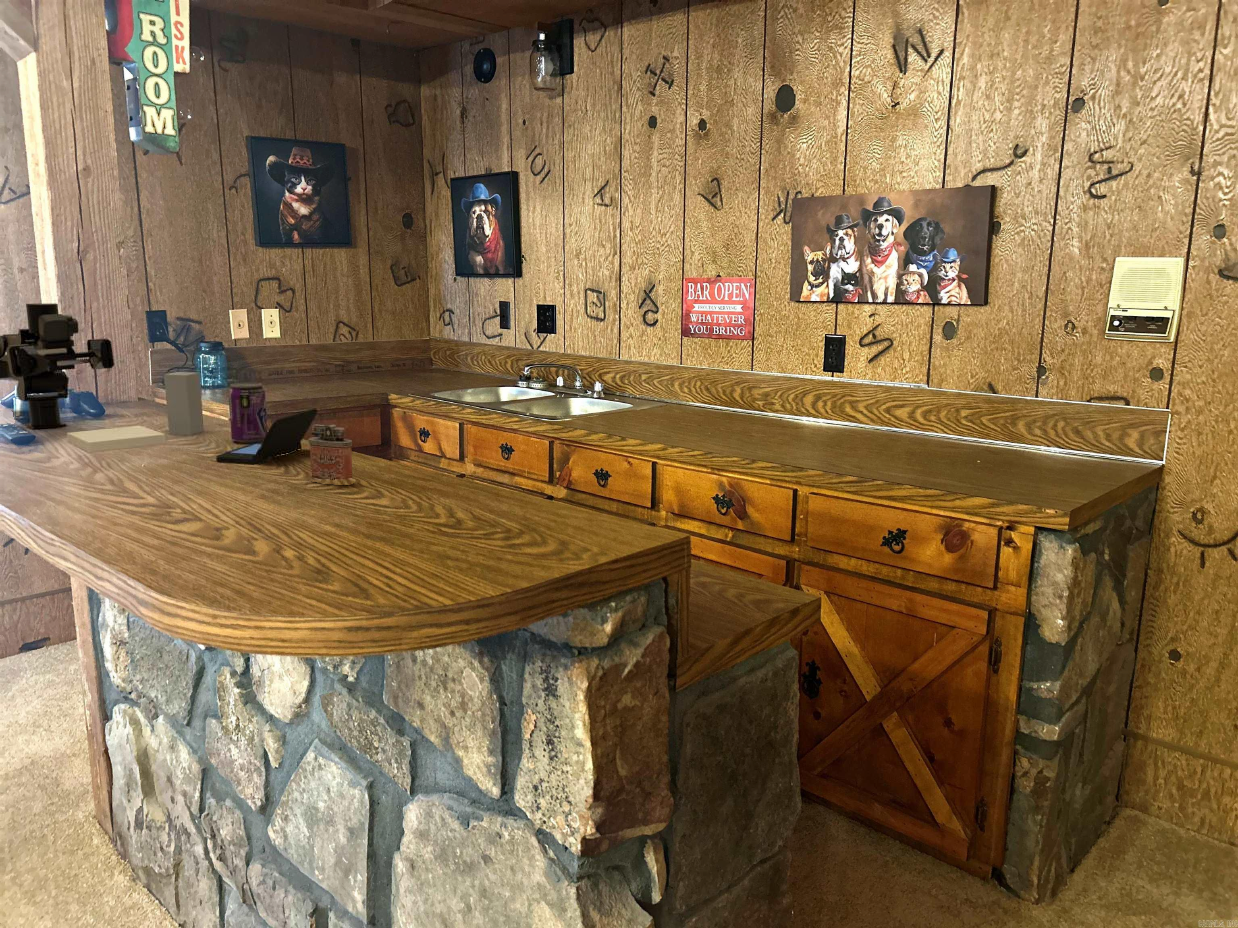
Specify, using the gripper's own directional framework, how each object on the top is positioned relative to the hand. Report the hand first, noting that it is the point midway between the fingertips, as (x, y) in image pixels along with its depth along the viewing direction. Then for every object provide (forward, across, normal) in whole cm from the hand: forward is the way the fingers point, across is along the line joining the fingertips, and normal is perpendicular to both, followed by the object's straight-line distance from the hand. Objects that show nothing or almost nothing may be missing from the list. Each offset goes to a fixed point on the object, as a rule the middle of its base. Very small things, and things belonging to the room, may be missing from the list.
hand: (75, 361), depth 179 cm
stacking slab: (+5, +4, +17) cm, 18 cm away
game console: (+38, +21, +17) cm, 46 cm away
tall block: (+2, +19, +17) cm, 26 cm away
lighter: (+65, +18, +15) cm, 70 cm away
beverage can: (+20, +25, +17) cm, 36 cm away
